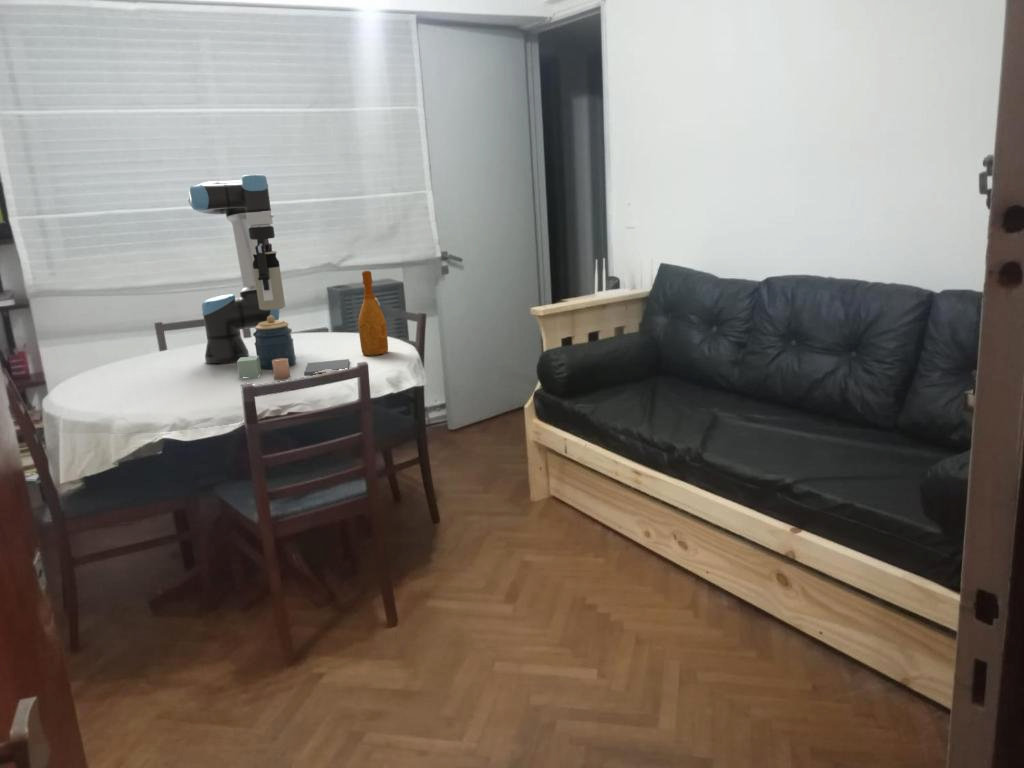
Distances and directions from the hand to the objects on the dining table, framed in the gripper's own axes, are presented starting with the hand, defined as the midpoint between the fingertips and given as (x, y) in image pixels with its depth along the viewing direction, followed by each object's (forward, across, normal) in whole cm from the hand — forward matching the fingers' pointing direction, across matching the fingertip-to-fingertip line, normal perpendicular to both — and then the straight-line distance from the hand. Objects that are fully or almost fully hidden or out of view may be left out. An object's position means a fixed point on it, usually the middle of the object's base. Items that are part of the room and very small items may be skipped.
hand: (271, 298), depth 232 cm
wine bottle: (+26, +22, -29) cm, 45 cm away
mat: (+25, +5, -14) cm, 29 cm away
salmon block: (+26, -3, 0) cm, 26 cm away
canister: (+26, +17, +4) cm, 31 cm away
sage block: (+26, +4, +11) cm, 28 cm away
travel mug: (+3, 0, 0) cm, 3 cm away
